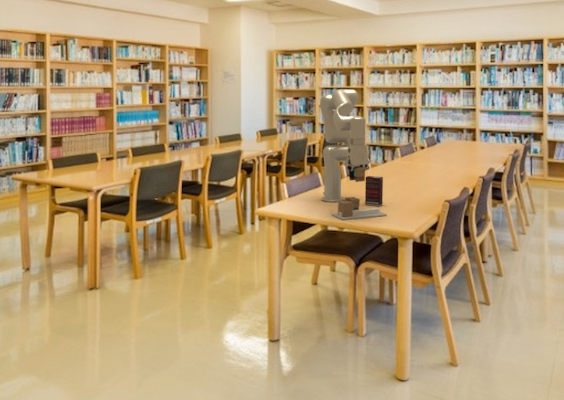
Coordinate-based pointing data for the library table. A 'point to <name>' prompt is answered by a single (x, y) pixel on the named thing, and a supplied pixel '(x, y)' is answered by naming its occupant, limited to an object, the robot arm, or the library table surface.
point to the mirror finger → (354, 201)
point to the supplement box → (374, 191)
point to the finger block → (359, 173)
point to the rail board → (355, 212)
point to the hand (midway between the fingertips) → (356, 177)
